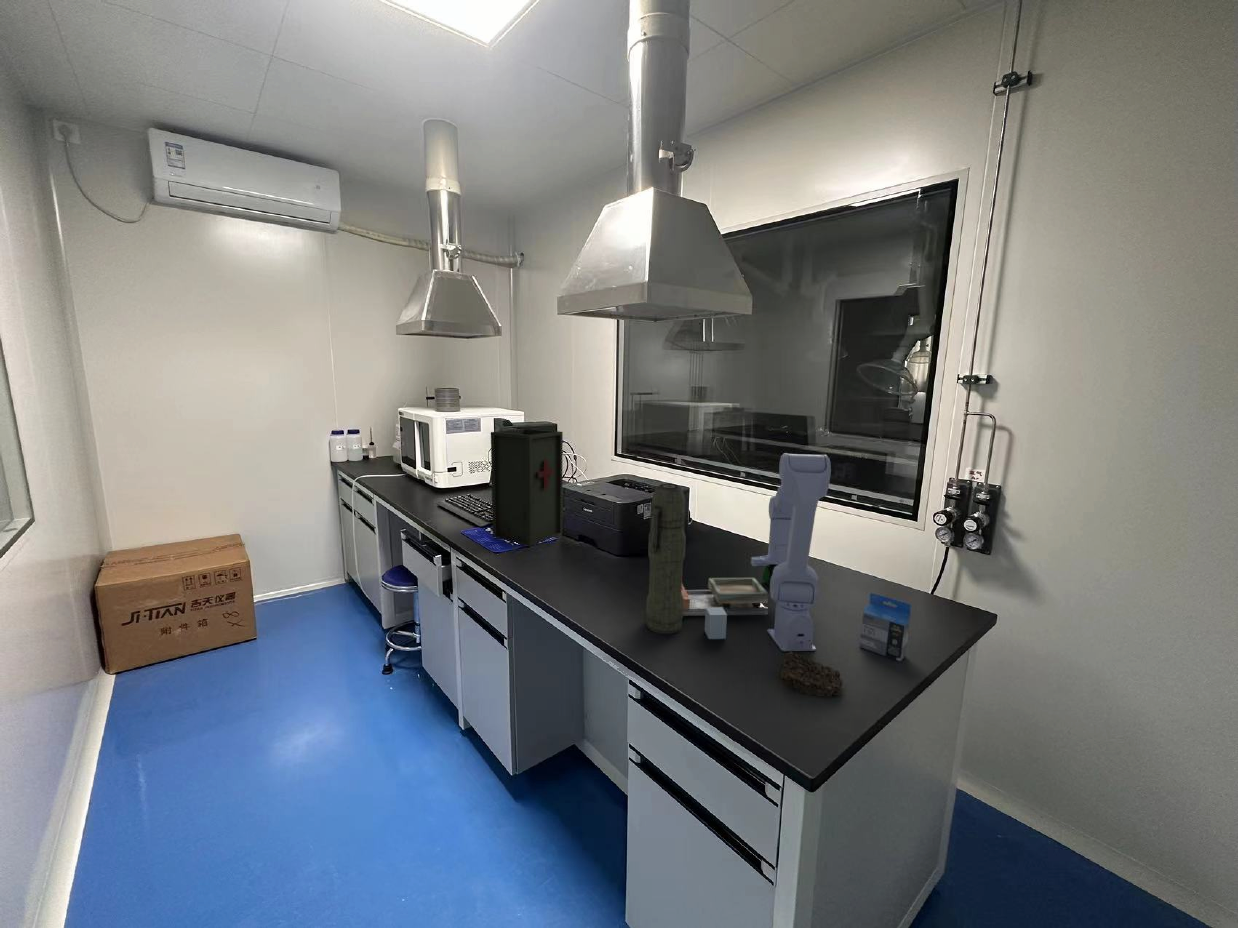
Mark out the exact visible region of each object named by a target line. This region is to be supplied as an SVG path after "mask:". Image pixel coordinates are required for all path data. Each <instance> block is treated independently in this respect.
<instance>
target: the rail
mask: <svg viewBox="0 0 1238 928" xmlns="http://www.w3.org/2000/svg"><path fill="white" fill-rule="evenodd" d="M681 596H682V599H683V617H685V616H686V617H687V616H689V617H691V616H693V617H695V616H698V617H699V616H705V615H706V607H722V608H723V609H724V611H725V612H726V614H727V616H755V615H756V616H758V615H759V616H765V615H769V607H768V606H764V603H760V604H761V605H760V607H753V605H752V603H730V607H729V608H724V607H723V605H722V603H718V602H717V600H716V599H715V597H714V595H713V594H712V592H711V590H710V589H686V588H685V587H684V584H683V583H682V593H681Z"/></svg>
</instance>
